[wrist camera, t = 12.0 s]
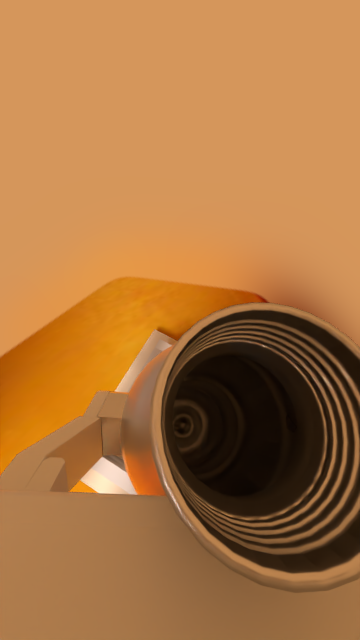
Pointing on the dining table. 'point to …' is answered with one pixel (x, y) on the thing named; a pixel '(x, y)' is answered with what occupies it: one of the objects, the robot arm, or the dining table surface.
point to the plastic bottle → (256, 443)
